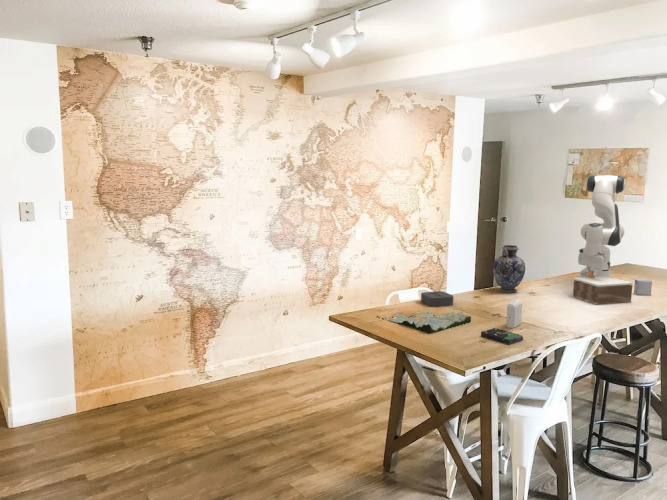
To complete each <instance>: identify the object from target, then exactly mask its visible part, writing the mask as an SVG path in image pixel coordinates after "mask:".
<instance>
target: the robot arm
mask: <svg viewBox="0 0 667 500" xmlns="http://www.w3.org/2000/svg"><path fill="white" fill-rule="evenodd" d="M626 185H627V183H626V180H625V177H624V176H621V175H612V174H606V175H590V176H589V177H588V178H587V180H586V183H585V187H586V190H587V191H588V192H590V193H592V195H591V196H592V198H591V204H592V207H594V214H595V216H596V217H597V218H599V219H601V220H602V221H603V222H602V223H600V222H599V223H598V222H592V223H590V222H589V223H585V224H583V225H582V226H581V228H580V235H581V237H582V239H584V240H585V241H586V243H585V247H583V248H579V249H578V259H577V262H578V265H581V266H583V267H584V268H583V269H581V271H580V272H579V273H580V274H579V276H576V277H575V278H579V277H588V273H589V270H594V271H593V272H592V275H594V276H595V277H596V276H608V277H611V269H610V268H611V249H610V248H609V247H607V246H610V247H616V246H618V245H619V244H620V243H621V241H622V238H623V237H624V236H625V228H624V227H623V226H622V225H621V224H620V215H619V207H618V205H617V204H616V203H615V202H616V195H618V194H621V193H622V192H624V190H625V188H626Z"/></svg>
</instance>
